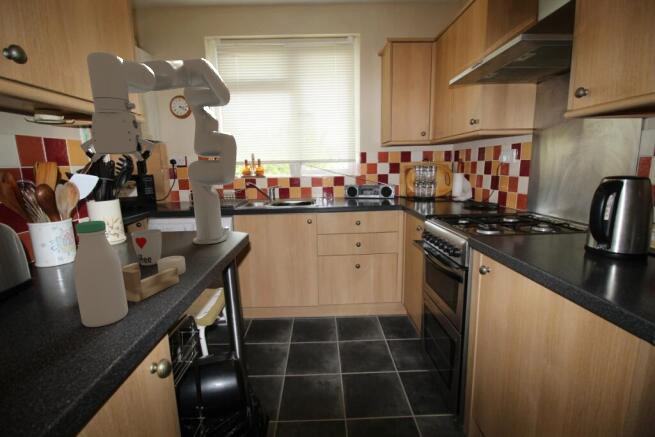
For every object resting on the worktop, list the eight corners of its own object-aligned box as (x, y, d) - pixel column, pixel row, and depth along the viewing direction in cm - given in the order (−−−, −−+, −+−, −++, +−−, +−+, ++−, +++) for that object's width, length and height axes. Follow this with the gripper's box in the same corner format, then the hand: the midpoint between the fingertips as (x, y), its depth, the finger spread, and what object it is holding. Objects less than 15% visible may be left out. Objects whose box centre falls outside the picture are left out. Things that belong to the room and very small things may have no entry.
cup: (130, 264, 97) (125, 233, 95) (154, 257, 104) (150, 228, 102) (146, 268, 93) (141, 236, 91) (170, 260, 100) (166, 230, 98)
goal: (136, 276, 87) (133, 252, 85) (179, 281, 82) (176, 256, 80) (91, 294, 75) (86, 266, 74) (137, 302, 70) (133, 272, 69)
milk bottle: (132, 317, 63) (118, 221, 59) (85, 333, 58) (66, 228, 54) (123, 305, 69) (110, 217, 65) (79, 318, 63) (62, 222, 60)
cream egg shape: (172, 267, 93) (171, 254, 93) (191, 269, 91) (189, 256, 90) (153, 275, 87) (151, 262, 86) (172, 278, 85) (170, 264, 84)
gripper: (155, 110, 82) (163, 175, 85) (85, 110, 80) (96, 177, 84) (142, 105, 75) (151, 176, 78) (64, 105, 73) (77, 178, 76)
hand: (122, 177), depth 81 cm, fingers open, 9 cm apart
